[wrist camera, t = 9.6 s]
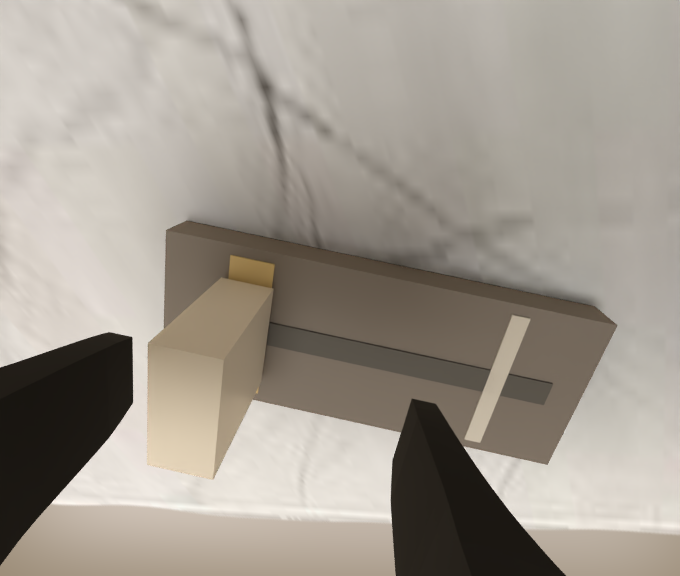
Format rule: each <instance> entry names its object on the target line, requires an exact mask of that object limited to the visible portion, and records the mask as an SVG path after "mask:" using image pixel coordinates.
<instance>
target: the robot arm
mask: <svg viewBox="0 0 680 576" xmlns="http://www.w3.org/2000/svg"><path fill="white" fill-rule="evenodd" d="M132 403H133V352H132V337H129V336H124V335H120V334H115V333H111V332H108V333H104V334H101V335H97V336H94V337H90V338H87V339H84V340H81V341H78V342H75V343H72V344H69V345H66V346H63V347H60V348H57V349H55V350H52V351H49V352H46V353H43V354H40V355H37V356H34V357H31V358H28V359H25V360H22V361H19V362H16V363H13V364H10V365H7V366H4V367H1V368H0V565H1V564H2V562H3V561H4V560H5V558H6V557H7V556H8V554H9V553H10V552H11V550H12V549H13V548H14V546H15V545H16V544H17V542H18V541H19V540H20V539H21V537H22V536H23V535H24V534H25V533H26V531H27V530H28V529H29V528H30V527H31V525H32V524H33V523H34V522H35V521H36V519H37V518H38V517H39V516H40V515H41V513H43V511H44V510H45V509H46V508H47V507H48V506H49V505H50V504H51V503H52V501H53V500H54V499H55V498H56V497H57V496H58V495H59V494H60V492H61V491H62V490H63V489H64V488H65V487H66V486H67V485H68V484H69V482H70V481H71V480H72V479H73V478H74V477H75V476H76V475H77V473H78V472H79V471H80V470H81V469H82V468H83V467H84V466H85V465H86V463H87V462H88V461H89V460H90V459H91V458H92V457H93V455H94V454H95V453H96V452H97V451H98V450H99V449H100V447H101V446H102V445H103V444H104V443H105V442H106V441H107V439H108V438H109V437H110V436H111V434H112V433H113V431H114V430H115V429H116V427H117V426H118V424H119V423H120V422H121V420H122V419H123V417H124V415H125V414H126V412H127V411H128V409H129V408H130V406H131V405H132ZM391 513H392V527H393V543H394V557H395V571H396V576H566V575H565V574H564V573H563V572H562V571H561V570H560V569H559V568H558V567H557V566H556V565H555V564H554V563H553V561H552V560H551V559H550V558H549V557H548V556H547V555H546V554H545V552H544V551H543V550H542V549H541V548H540V547H539V546H538V545H537V543H536V542H535V541H534V540H533V539H532V538H531V536H530V535H529V534H528V533H527V532H526V531H525V529H524V528H523V527H522V526H521V525H520V524H519V522H518V521H517V520H516V519H515V517H514V516H513V515H512V514H511V512H510V511H509V510H508V509H507V507H506V506H505V505H504V503H503V502H502V501H501V499H500V498H499V497H498V495H497V494H496V493H495V492H494V490H493V489H492V488H491V486H490V485H489V484H488V482H487V481H486V479H485V478H484V477H483V475H482V474H481V472H480V471H479V469H478V468H477V467H476V465H475V464H474V462H473V461H472V459H471V458H470V456H469V455H468V453H467V452H466V450H465V449H464V447H463V446H462V444H461V443H460V441H459V439H458V438H457V436H456V435H455V433H454V431H453V430H452V428H451V427H450V425H449V424H448V422H447V420H446V419H445V417H444V416H443V414H442V412H441V411H440V409H439V408H438V406H437V404H435V403H430V402H426V401H421V400H417V399H411V403H410V406H409V409H408V412H407V416H406V419H405V422H404V425H403V428H402V432H401V435H400V438H399V441H398V445H397V448H396V451H395V454H394V458H393V462H392V481H391Z"/></svg>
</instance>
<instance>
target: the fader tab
mask: <svg viewBox="0 0 680 576" xmlns="http://www.w3.org/2000/svg"><path fill="white" fill-rule="evenodd" d="M273 290H274V289H273V288H268V287H264V286H259V285H254V284H250V283H245V282H240V281H236V280H231V279H226V278H222V277H221V278H220V279H219V280H218V281H217V282H215V283H214V284H213V285H212V286H211V287H210V288H209V289H208V290H207V291H205V292H204V293H203V294H202V295H201V296H200V297H199V298H198V299H197V300H195V301H194V302H193V303H192V304H191V305H190V306H189V307H188V308H187V309H185V310H184V311H183V312H182V313H181V314H180V315H179V316H178V317H177V318H175V319H174V320H173V321H172V322H171V323H170V324H169V325H168V326H167V327H165V328H164V329H163V330H162V331H161V332H160V333H159V334H158V335H157V336H155V337H154V338H153V339H152V340H151V341H150V342H149V343H148V412H147V465H150V466H155V467H159V468H163V469H168V470H172V471H177V472H181V473H185V474H190V475H194V476H199V477H203V478H207V479H212V480H213V479H214V477H215V475H216V473H217V471H218V469H219V467H220V465H221V463H222V461H223V459H224V457H225V454H226V452H227V450H228V448H229V446H230V444H231V442H232V440H233V438H234V436H235V434H236V432H237V430H238V428H239V426H240V424H241V422H242V420H243V418H244V416H245V414H246V412H247V410H248V408H249V406H250V404H251V401H252V399H253V397H254V395H255V393H256V391H257V389H258V387H259V385H260V383H261V380H262V372H263V365H264V358H265V350H266V343H267V335H268V328H269V320H270V313H271V305H272V298H273Z"/></svg>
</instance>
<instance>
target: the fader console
mask: <svg viewBox="0 0 680 576" xmlns="http://www.w3.org/2000/svg"><path fill="white" fill-rule="evenodd" d="M221 277H222V278H226V279H231V280H236V281H240V282H245V283H250V284H254V285H259V286H264V287H268V288H273V289H274V290H273V298H272V305H271V313H270V320H269V328H268V335H267V343H266V350H265V358H264V365H263V372H262V380H261V383H260V385H259V387H258V389H257V391H256V393H255V395H254V397H253V400H257V401H262V402H266V403H271V404H275V405H280V406H284V407H289V408H293V409H298V410H302V411H307V412H311V413H316V414H321V415H325V416H330V417H334V418H339V419H343V420H348V421H352V422H357V423H361V424H366V425H370V426H375V427H379V428H384V429H388V430H393V431H397V432H402V428H403V425H404V422H405V419H406V416H407V412H408V409H409V406H410V403H411V399H417V400H421V401H426V402H430V403H435V404H437V406H438V408H439V409H440V411H441V412H442V414H443V416H444V417H445V419H446V420H447V422H448V424H449V425H450V427H451V428H452V430H453V431H454V433H455V435H456V436H457V438H458V439H459V441H460V443H461V444H462V446H465V447H470V448H474V449H479V450H483V451H488V452H492V453H497V454H501V455H506V456H510V457H515V458H519V459H524V460H528V461H533V462H538V463H542V464H547V465H548V463H549V461H550V459H551V457H552V455H553V453H554V451H555V449H556V447H557V445H558V443H559V441H560V439H561V437H562V435H563V433H564V431H565V429H566V427H567V425H568V423H569V421H570V419H571V417H572V415H573V413H574V411H575V409H576V407H577V405H578V403H579V401H580V399H581V397H582V395H583V393H584V391H585V389H586V387H587V385H588V383H589V381H590V379H591V377H592V375H593V373H594V371H595V369H596V367H597V365H598V363H599V361H600V359H601V357H602V355H603V353H604V351H605V349H606V347H607V345H608V343H609V341H610V339H611V337H612V335H613V333H614V331H615V329H616V327H617V325H616V324H615V323H614V322H613V321H612V320H610V319H609V318H608V317H607V316H606V315H604V314H603V313H602V312H601V311H600V310H598V309H597V308H596V307H595V306H590V305H585V304H580V303H576V302H571V301H566V300H561V299H557V298H552V297H547V296H542V295H538V294H533V293H528V292H523V291H519V290H514V289H509V288H504V287H500V286H495V285H490V284H485V283H480V282H476V281H471V280H466V279H461V278H457V277H452V276H447V275H442V274H438V273H433V272H428V271H423V270H419V269H414V268H409V267H404V266H400V265H395V264H390V263H385V262H380V261H376V260H371V259H366V258H361V257H357V256H352V255H347V254H342V253H338V252H333V251H328V250H323V249H319V248H314V247H309V246H304V245H300V244H295V243H290V242H285V241H281V240H276V239H271V238H266V237H261V236H257V235H252V234H247V233H242V232H238V231H233V230H228V229H223V228H219V227H214V226H209V225H204V224H200V223H195V222H190V221H185V222H183V223H181V224H179V225H176V226H174V227H172V228H170V229H168V230H166V258H165V301H164V328H165V327H167V326H168V325H169V324H170V323H171V322H172V321H173V320H174V319H175V318H177V317H178V316H179V315H180V314H181V313H182V312H183V311H184V310H185V309H187V308H188V307H189V306H190V305H191V304H192V303H193V302H194V301H195V300H197V299H198V298H199V297H200V296H201V295H202V294H203V293H204V292H205V291H207V290H208V289H209V288H210V287H211V286H212V285H213V284H214V283H215V282H217V281H218V280H219V279H220V278H221Z"/></svg>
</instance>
